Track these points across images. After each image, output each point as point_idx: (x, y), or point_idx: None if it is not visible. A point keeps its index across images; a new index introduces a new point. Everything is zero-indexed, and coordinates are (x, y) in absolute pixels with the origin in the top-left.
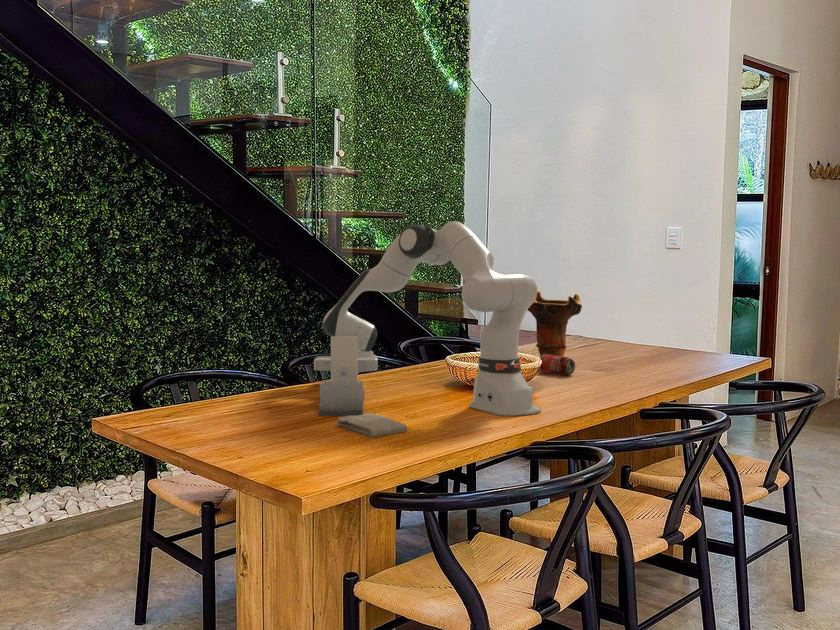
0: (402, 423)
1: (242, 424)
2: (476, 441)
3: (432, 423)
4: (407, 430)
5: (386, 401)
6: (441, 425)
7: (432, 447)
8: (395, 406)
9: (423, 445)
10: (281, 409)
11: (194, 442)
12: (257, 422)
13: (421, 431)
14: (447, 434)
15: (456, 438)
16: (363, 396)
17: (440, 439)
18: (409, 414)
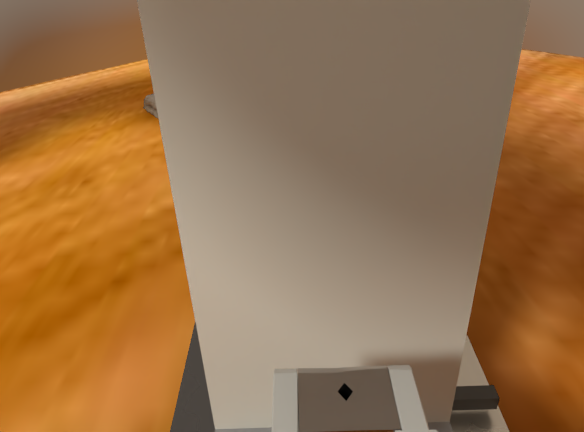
0: (151, 95)
1: (561, 120)
2: (40, 88)
3: (51, 143)
4: (144, 108)
5: (47, 378)
6: (38, 135)
7: (135, 74)
8: (56, 281)
9: (146, 77)
10: (575, 225)
11: (556, 67)
12: (535, 130)
13: (113, 111)
14: (68, 104)
15: (66, 94)
16: (191, 346)
17: (100, 90)
18: (65, 195)
